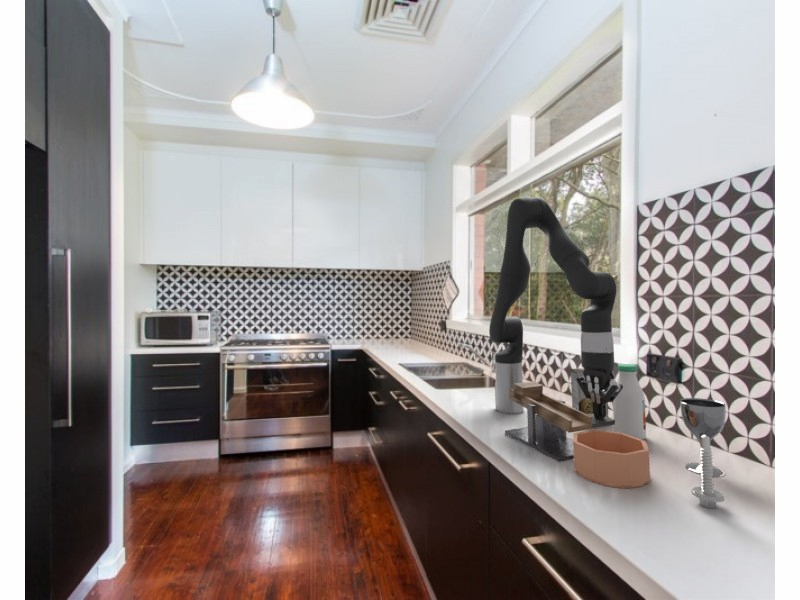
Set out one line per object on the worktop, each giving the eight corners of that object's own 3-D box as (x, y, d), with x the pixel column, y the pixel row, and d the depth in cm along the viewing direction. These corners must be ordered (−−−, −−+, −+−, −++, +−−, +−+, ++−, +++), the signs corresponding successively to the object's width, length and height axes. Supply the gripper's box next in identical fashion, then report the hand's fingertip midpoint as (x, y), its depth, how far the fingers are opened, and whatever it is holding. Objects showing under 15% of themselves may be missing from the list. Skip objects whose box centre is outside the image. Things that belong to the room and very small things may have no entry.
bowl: (560, 465, 90) (559, 435, 90) (607, 456, 95) (606, 427, 95) (613, 493, 77) (611, 458, 77) (664, 480, 82) (663, 447, 82)
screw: (691, 506, 71) (692, 495, 75) (725, 515, 68) (724, 503, 72) (688, 435, 71) (689, 428, 75) (722, 441, 68) (722, 433, 72)
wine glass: (717, 481, 81) (714, 409, 81) (675, 467, 88) (672, 401, 88) (735, 472, 84) (732, 403, 85) (694, 459, 91) (691, 396, 92)
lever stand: (504, 434, 113) (503, 396, 113) (538, 428, 117) (537, 392, 117) (559, 462, 93) (557, 416, 93) (597, 454, 97) (596, 410, 97)
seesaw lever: (506, 398, 115) (507, 381, 114) (548, 393, 120) (549, 377, 119) (566, 433, 92) (567, 412, 92) (614, 424, 97) (616, 404, 97)
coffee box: (600, 417, 127) (598, 367, 127) (609, 423, 120) (607, 371, 120) (571, 417, 128) (569, 368, 128) (578, 423, 121) (576, 371, 121)
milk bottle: (640, 443, 103) (637, 368, 103) (609, 436, 109) (607, 365, 109) (650, 436, 108) (647, 364, 108) (620, 430, 114) (617, 361, 114)
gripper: (566, 348, 104) (568, 412, 104) (607, 353, 91) (610, 426, 91) (588, 346, 106) (590, 409, 106) (631, 351, 94) (634, 422, 94)
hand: (599, 417), depth 99 cm, fingers closed
